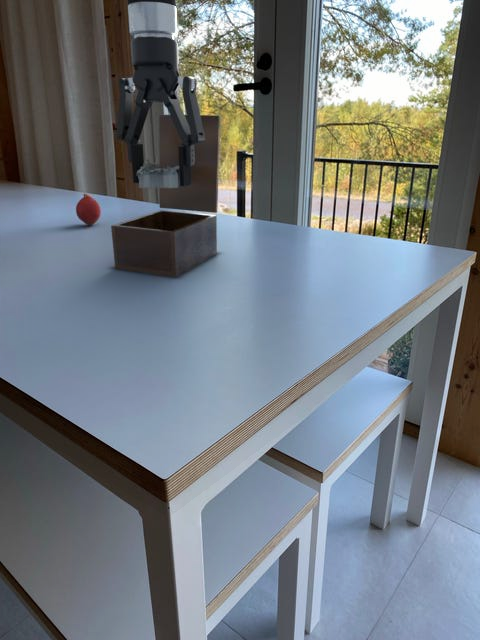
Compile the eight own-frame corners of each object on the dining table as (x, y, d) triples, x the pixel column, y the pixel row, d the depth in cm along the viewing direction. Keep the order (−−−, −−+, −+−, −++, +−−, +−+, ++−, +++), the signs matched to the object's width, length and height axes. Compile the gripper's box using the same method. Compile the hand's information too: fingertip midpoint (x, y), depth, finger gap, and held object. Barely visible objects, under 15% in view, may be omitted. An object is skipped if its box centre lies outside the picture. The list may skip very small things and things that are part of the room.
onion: (89, 222, 122) (85, 190, 119) (107, 224, 119) (103, 192, 116) (73, 226, 117) (68, 193, 114) (91, 229, 115) (87, 195, 112)
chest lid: (218, 115, 86) (220, 115, 87) (159, 114, 91) (161, 114, 91) (215, 212, 92) (217, 212, 93) (159, 207, 96) (161, 207, 97)
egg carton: (148, 181, 90) (146, 158, 88) (187, 182, 90) (186, 159, 88) (133, 188, 80) (131, 163, 79) (177, 189, 80) (175, 163, 78)
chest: (176, 277, 81) (174, 232, 78) (115, 268, 86) (110, 225, 83) (216, 254, 95) (216, 215, 92) (162, 247, 100) (160, 210, 97)
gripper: (225, 38, 75) (225, 184, 84) (112, 44, 83) (123, 178, 92) (204, 31, 69) (207, 190, 78) (84, 38, 77) (99, 182, 85)
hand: (162, 183), depth 85 cm, fingers closed on egg carton, 9 cm apart
